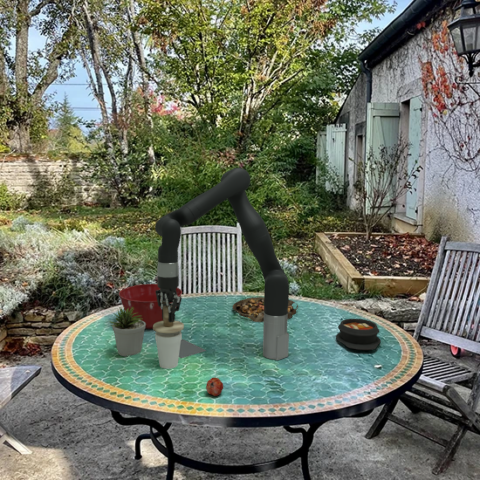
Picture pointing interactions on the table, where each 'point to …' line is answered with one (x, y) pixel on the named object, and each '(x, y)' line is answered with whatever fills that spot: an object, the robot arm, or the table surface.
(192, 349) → the mat
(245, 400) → the table surface
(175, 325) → the lid
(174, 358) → the foam cup
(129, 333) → the potted plant
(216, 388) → the pomegranate
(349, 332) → the casserole
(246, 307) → the food dish
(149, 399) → the table surface
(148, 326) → the mixing bowl
